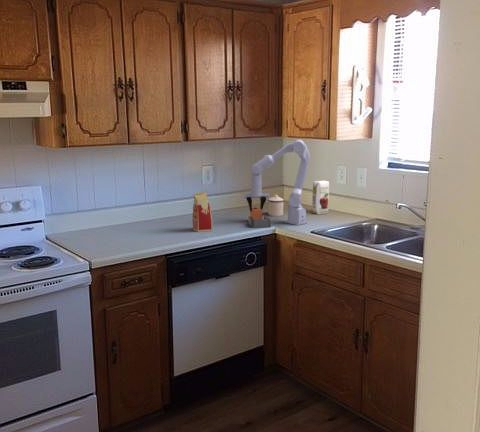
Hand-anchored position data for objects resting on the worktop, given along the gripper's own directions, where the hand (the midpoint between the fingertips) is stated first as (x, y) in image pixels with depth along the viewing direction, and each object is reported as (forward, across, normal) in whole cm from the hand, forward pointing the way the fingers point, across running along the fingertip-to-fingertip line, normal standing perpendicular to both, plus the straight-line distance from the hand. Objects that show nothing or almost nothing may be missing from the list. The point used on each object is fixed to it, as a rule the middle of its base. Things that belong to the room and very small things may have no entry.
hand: (256, 211), depth 286 cm
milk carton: (+6, +30, +15) cm, 35 cm away
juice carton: (+6, -41, -18) cm, 45 cm away
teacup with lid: (+6, -14, -18) cm, 24 cm away
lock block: (+5, 0, 0) cm, 5 cm away
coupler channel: (+6, 0, +10) cm, 11 cm away
